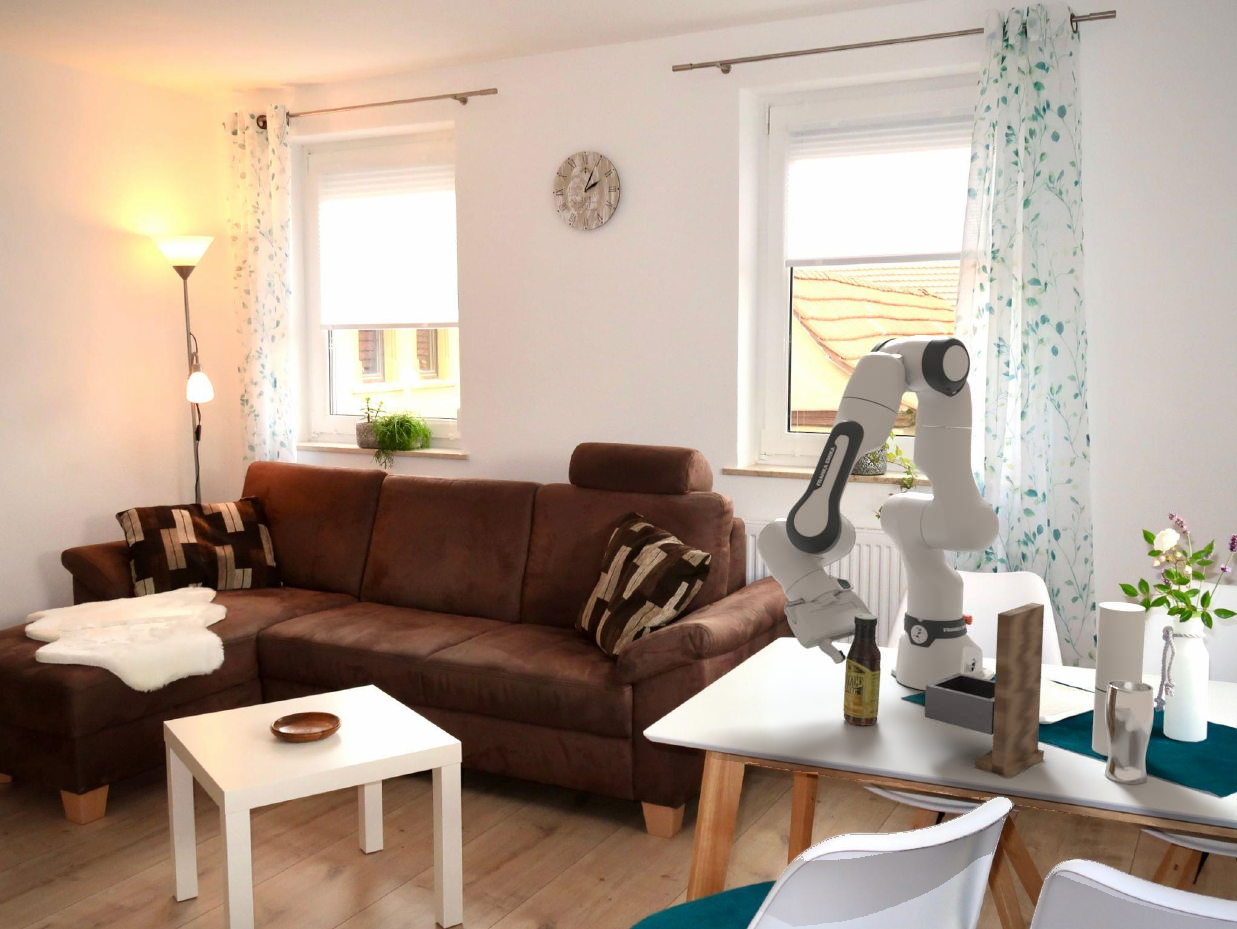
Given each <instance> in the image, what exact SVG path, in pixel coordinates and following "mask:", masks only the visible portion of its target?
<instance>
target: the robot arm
mask: <svg viewBox="0 0 1237 929" xmlns="http://www.w3.org/2000/svg"><path fill="white" fill-rule="evenodd" d="M970 357H971V356H970V354H969V351H968V349H967V347H966V345H965V344H964V343H963V341H961V340H959V339H958V338H955V337H951V336H947V335H938V336H935V335H934V336H933V335H913V336H909V337H902V338H889V339H886V340H882V341H880V342H878V343H877V344H876V345H875V346H874V347H873V348H872V349H871V351H870V352H869V353H866V354H865V355H863V356H862V357H861V358H860V359H859V361H858V362H857V364H856V366H855V367H854V369H853V371H852V373H851V375H850V377H849V379H848V382H847V383H846V386H845V389H844V391H843V394H842V397H841V399H840V402H839V406H838V408H837V412H836V416H835V417H834V418H835V419H834V422H833V425H832V428H831V430H830V433H829V435H828V438H827V440H826V443H825V444H824V448H823V449H822V452H821V454H820V456H819V459H818V462H817V464H816V467H815V469H814V471H813V474H812V477H811V479H810V482H809V484H808V486H807V488H806V490H805V491H804V493H803V495H802V496H801V497H800V498H799V499H798V501H797V502H796V503H795V504H794V505H793V506H792V507H791V510H790V511H789V512H788V514H787V517H786V518H776V519H775V520H773V521H771V522H769V523H768V524H767V525H766V526H764V528H763V529H762V531H760V533H759V535H758V537H757V539H756V540H757V541H756V547H757V548H756V549H757V551H758V554H759V557H760V558H761V560H762V562H763V564H764V565H765V567H766V568H767V570H768V571H769V573H770V574H771V576H772V577H773V579H774V580H775V581H777V582H778V583H779V584H780V586H781V588H782V590H783V594H784V595H785V597H786V598H787V600H788V601H787V602H785V604H784V606H783V612H784V614H785V615H786V617H787V623H788V625H789V627H790V629H791V631H792V633H793V634H794V636H795V638H796V640H797V641H798V642H799V644H800V646H802V647H803V648H804V649H806V650H807V649H811V648H815V647H818V648H819V650H820V651H821V652H823V653H824V654H826V655H827V656H828V657H830V658H831V660H832V661H833V662H834V663H835V665H838V664H841V663H843V662H844V661H846V658H847V655H845V654H844V652H843V651H842V650H841V649H840V650H839V649H838V648H836V647H835V646H834V645H833V643H834V642H835V641H836V642H837V641H841V640H843V639H847V638H851V637H854V635H855V623H854V619H855V615H857V614H871V615H874V614H873V613H872V611H871V610H870V609H869V607H868V605H867V604H866V603H865V601H864V600H863V598H862V597H861V596H860V595H859V594H858V593H857V592H856V591H854V588H855V587H854V585H853V583H852V582H851V581H850V580H849V579H846V578H840V577H837V576H834V575H830V574H828V573H827V571H826V570H825V569H824V568H825V567H827V566H829V565H832V564H834V563H835V562H837V561H839V560H842V559H843V558H845V557H846V556H847V555H849V554H850V553H851V551H852V550H853V549H854V546H855V543H856V538H857V536H856V535H857V534H856V530H855V527H854V525H853V524H852V522H851V520H849V519H848V518H847V517H846V516H845V515H844V514H843V513H841V501H842V497H843V495H844V494H845V490H846V487H847V485H848V483H849V479H850V477H851V475H852V473H853V469H854V467H855V465H856V464H857V462H858V461H859V459H861V457H863V456H865V455H867V454H871V453H874V452H876V451H878V450H880V449H881V448H883V447H884V446H885V444H886V443H887V441H888V439H889V437H890V436H891V433H892V432H893V429H894V426H895V424H896V420H897V417H898V415H899V410H900V407H901V403H902V399H903V396H904V394H905V393H906V392H907V393H915V396H916V398H917V408H916V414H915V424H914V426H915V428H914V440H913V441H914V442H913V460H912V461H913V463H914V466H915V467H916V469H917V470H918V471H919V472H921V473H922V474H923V475H925V477H926V478H927V479H928V481H929V483H930V485H931V490H932V493H923V492H916V491H909V492H901V493H895V494H892V495H890V496H889V497H888V498H887V499H886V500H885V502H884V503H883V504H882V506H881V510H880V515H879V516H880V517H879V521H880V525H881V528H882V531H883V533H884V534H885V535H886V536H887V537H888V538H889V539H890V540H891V542H892V543H893V544H894V546H895V547H896V549H897V551H898V553H899V556H900V558H901V561H902V564H903V568H904V573H905V576H906V611H905V612H904V617H903V630H904V633H903V634H902V635H900V636H899V639H898V647H897V655H896V665H895V667H892V668H891V670H890V671H891V672H890V673H891V675H893V676H894V677H895V678H896V681H897V682H898V683H900V684H901V685H904V686H906V687H909V688H913V689H916V690H917V689H918V690H922V691H926V685H928V684H931V683H934V682H936V681H939V680H941V679H944V678H947V677H949V676H952V675H955V674H957V673H961V674H965V675H970V676H974V677H979V678H983V679H987V680H992V679H993V678H995V672H994V671H993V670H992V669H989V668H987V667H983V659H984V658H983V650H982V648H981V646H980V645H979V644H977V643H976V642H975V641H974V640H973V639H972V638H971V637H970V636H969V635H968V634H967V633H968V629H967V626H971V625H972V624H973V622H974V621H973V620H974V619H973V616H972V614H971V615H970V614H964V613H963V611H964V610H963V609H964V589H965V588H964V580H963V577H962V575H961V574H960V573H959V572H958V571H957V570H956V569H955V568H954V567H952V565H950V563H949V561H948V560H947V558H946V554H945V551H947V552H948V551H949V552H955V553H960V554H963V553H966V554H967V553H979V552H985V551H987V550H988V549H990V547H992V546H993V544H994V543H995V541H996V540H997V538H998V534H999V530H1000V523H999V522H1000V521H999V518H998V514H997V512H996V511H995V509H994V508H993V506H991V505H990V504H989V503H988V502H987V501H986V499H984V497H983V496H982V494H981V492H980V490H979V489H978V486H977V483H976V482H975V478H974V474H973V470H972V435H973V434H972V432H973V429H972V428H973V404H972V403H973V402H972V392H971V386H970V383H969V381H968V377H969V374H970V370H971V368H970V367H971V359H970ZM852 590H853V591H852Z"/></svg>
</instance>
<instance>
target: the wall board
mask: <svg viewBox="0 0 1237 929" xmlns="http://www.w3.org/2000/svg"><path fill="white" fill-rule="evenodd" d="M1044 614H1045V604H1043V603H1036V602H1030V603H1028V604H1024V605H1022V606H1021V605H1020V606H1018V607H1015V608H1013V609H1009V610H1004V611H1002V612H1000V613H997V625H996V626H997V627H996V649H995V650H996V652H995V654H996V655H995V656H996V657H995V673H994V679H995V680H994V681H995V700H994V725H993V735H992V750H990V751H988V752H985V753H984V754H981V755H979V756H978V757H976V758H974V762H973V763H974V764H973V768H974V769H977V770H980V771H983V772H987V773H990V774H994V775H998V776H1000V777H1004V778H1008V779H1010V778H1013V777H1014V776H1016V775H1018V774H1019V773H1021V772H1024V771H1025V770H1028V769H1029V768H1031V767H1032V766H1035V765H1037V764H1038V763H1040V762H1041V761H1044V757H1045V756H1044V754H1045V751H1044V750H1042V749H1039V729H1040V711H1041V710H1040V709H1041V708H1040V706H1041V689H1042V687H1041V686H1042V663H1043V662H1042V660H1043V638H1044V637H1043V636H1044V619H1045V618H1044Z"/></svg>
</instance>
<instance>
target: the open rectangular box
mask: <svg viewBox="0 0 1237 929" xmlns="http://www.w3.org/2000/svg"><path fill="white" fill-rule="evenodd" d="M924 694H925V696H924V718H926V719H930V720H933V721H937V722H941V723H944V724H948V725H952V726H955V727H960V728H962V729H963V728H964V729H967V730H971V731H974V732H978V733H983V734H987V735H989V736H993V725H994V700H995V680H992V679H990V680H987V679H983V678H979V677H974V676H970V675H965V674H961V673H957V674H955V675H952V676H949V677H947V678H944V679H941V680H939V681H936V682H934V683H931V684H928V685H926V690H925V693H924Z"/></svg>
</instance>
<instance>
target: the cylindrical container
mask: <svg viewBox="0 0 1237 929" xmlns="http://www.w3.org/2000/svg"><path fill="white" fill-rule="evenodd" d="M1146 611H1147V610H1146V607H1144V606H1143V605H1140V604H1135V603H1130V602H1123V601H1104V602H1100V603H1099V604H1098V617H1097V634H1096V635H1097V636H1096V637H1097V638H1096V656H1095V657H1096V659H1095V674H1094V675H1095V677H1094V700H1093V720H1092V722H1093V724H1092V742H1091V749H1092V751H1094V752H1095V753H1097V754H1099V755H1101V756H1106V757H1108V754H1109V747H1108V739H1107V732H1106V724H1105V701H1106V693H1107V687H1108V682H1109V681H1112V680H1132V681H1138V682H1142V683H1143V669H1144V668H1143V666H1144V665H1143V664H1144V648H1145V646H1144V645H1145V644H1144V643H1145V626H1146Z"/></svg>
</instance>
